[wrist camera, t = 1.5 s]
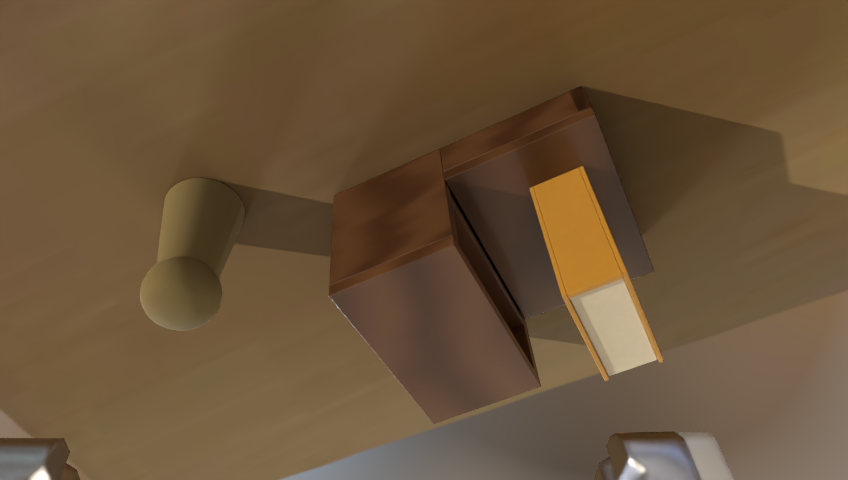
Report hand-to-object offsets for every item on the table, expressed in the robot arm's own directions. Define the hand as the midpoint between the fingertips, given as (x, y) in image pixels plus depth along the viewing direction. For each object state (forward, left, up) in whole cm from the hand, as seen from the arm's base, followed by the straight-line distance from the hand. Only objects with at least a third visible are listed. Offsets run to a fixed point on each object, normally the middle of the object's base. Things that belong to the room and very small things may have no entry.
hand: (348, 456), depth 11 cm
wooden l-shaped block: (-2, +28, -39) cm, 47 cm away
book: (-8, +27, -35) cm, 44 cm away
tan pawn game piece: (+19, +20, -39) cm, 47 cm away
